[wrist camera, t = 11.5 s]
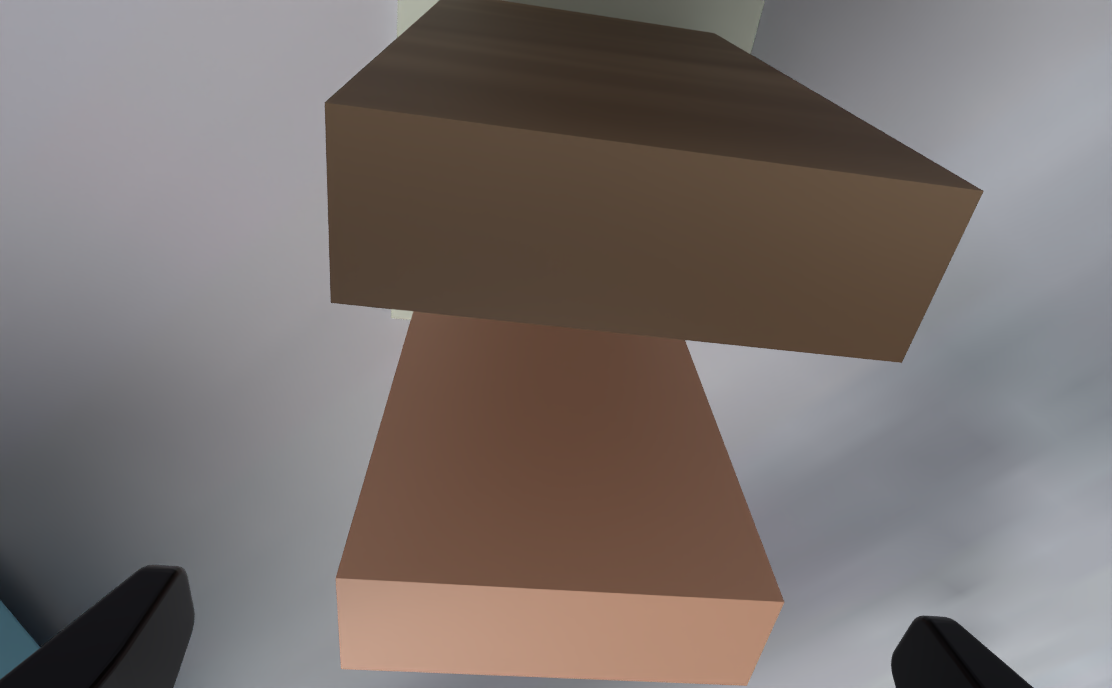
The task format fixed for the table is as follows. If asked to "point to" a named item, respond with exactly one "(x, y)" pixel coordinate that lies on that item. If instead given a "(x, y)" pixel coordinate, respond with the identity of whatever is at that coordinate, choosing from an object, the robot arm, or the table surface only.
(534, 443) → the terracotta domino
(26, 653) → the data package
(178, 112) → the table surface
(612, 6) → the domino mat
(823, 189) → the walnut domino
